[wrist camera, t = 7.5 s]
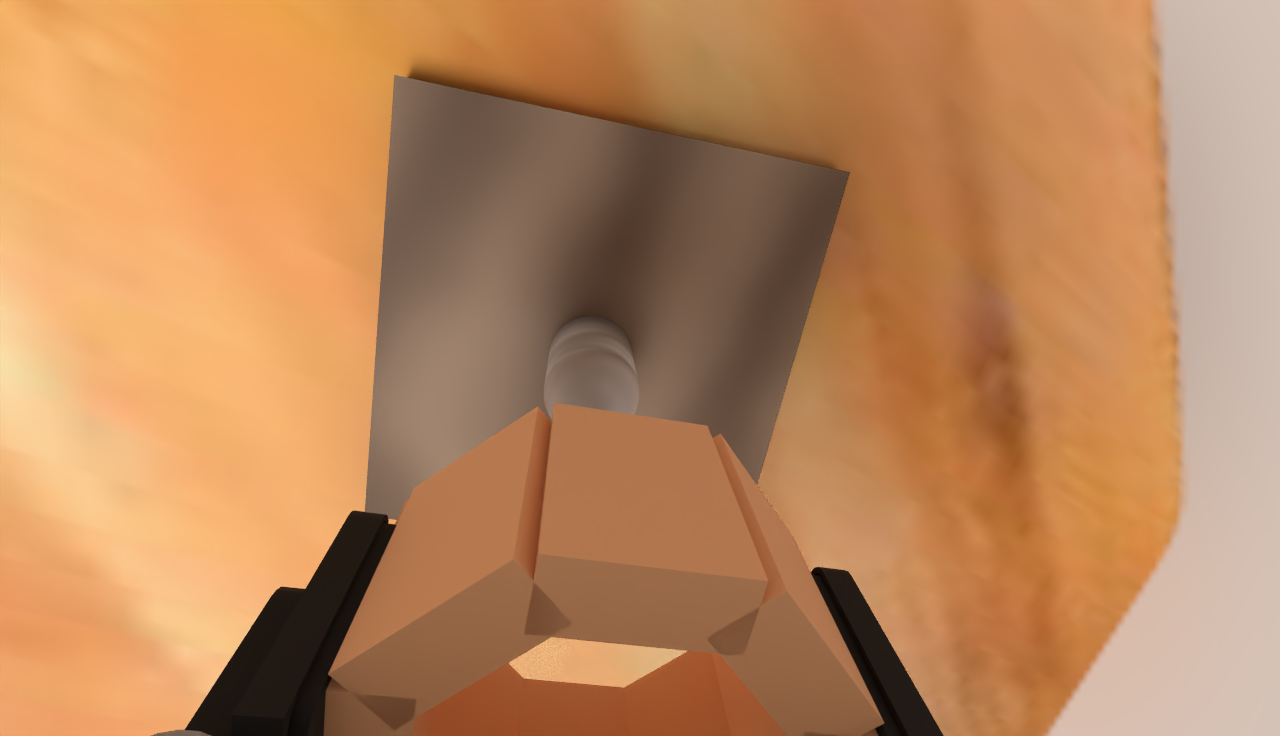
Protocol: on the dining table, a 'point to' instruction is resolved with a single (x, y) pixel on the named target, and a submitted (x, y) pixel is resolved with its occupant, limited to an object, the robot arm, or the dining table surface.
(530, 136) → the post base
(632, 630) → the ring
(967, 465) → the dining table surface
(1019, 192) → the dining table surface
